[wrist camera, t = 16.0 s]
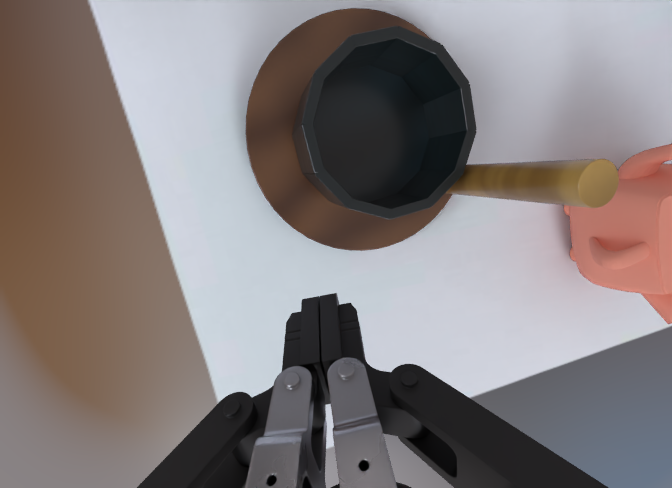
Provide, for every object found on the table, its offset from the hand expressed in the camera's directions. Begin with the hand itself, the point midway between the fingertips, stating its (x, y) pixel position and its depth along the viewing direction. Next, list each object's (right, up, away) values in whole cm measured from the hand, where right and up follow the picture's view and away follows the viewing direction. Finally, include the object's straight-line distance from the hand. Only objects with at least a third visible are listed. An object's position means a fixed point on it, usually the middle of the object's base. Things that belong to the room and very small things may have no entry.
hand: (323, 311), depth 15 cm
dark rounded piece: (+2, +12, +14) cm, 18 cm away
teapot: (+27, +5, +21) cm, 35 cm away
